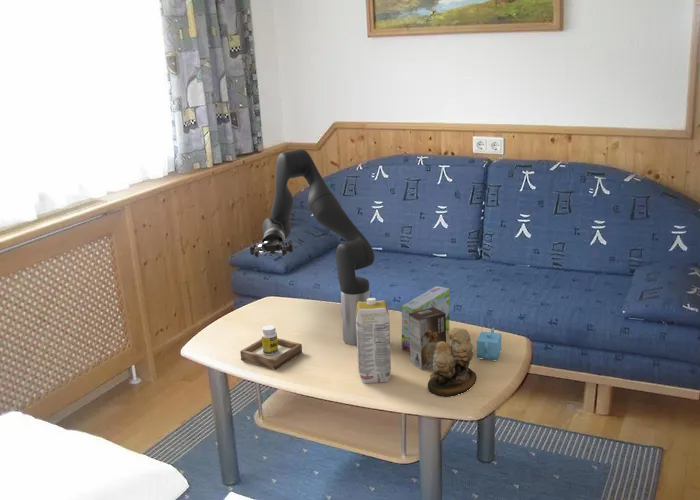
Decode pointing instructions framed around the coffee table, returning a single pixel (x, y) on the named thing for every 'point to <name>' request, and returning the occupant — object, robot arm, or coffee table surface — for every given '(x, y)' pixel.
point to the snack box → (429, 299)
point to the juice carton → (373, 341)
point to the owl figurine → (452, 365)
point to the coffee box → (426, 335)
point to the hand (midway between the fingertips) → (270, 253)
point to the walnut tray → (284, 355)
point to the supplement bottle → (269, 340)
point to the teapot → (489, 345)
